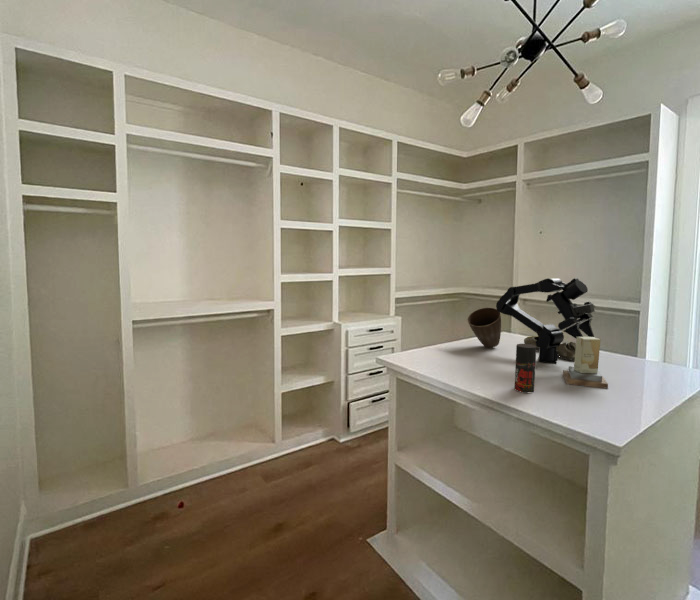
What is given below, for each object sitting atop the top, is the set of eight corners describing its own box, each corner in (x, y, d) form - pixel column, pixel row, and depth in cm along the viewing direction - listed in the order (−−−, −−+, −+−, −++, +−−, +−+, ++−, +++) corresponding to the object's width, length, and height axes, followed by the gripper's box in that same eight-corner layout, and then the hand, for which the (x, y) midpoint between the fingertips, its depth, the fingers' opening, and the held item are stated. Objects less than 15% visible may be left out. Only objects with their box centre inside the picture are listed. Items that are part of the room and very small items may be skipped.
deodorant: (510, 388, 132) (512, 344, 131) (523, 386, 135) (525, 342, 133) (524, 394, 127) (526, 348, 125) (538, 391, 129) (540, 346, 128)
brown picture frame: (567, 383, 137) (567, 374, 136) (563, 374, 148) (563, 365, 147) (607, 388, 132) (608, 378, 132) (600, 377, 143) (601, 368, 143)
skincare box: (580, 373, 137) (583, 339, 135) (573, 370, 141) (575, 336, 140) (598, 373, 137) (601, 338, 136) (590, 369, 141) (593, 336, 140)
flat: (538, 343, 198) (539, 329, 198) (588, 361, 167) (589, 343, 166) (518, 344, 196) (519, 329, 196) (565, 362, 165) (566, 344, 164)
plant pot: (509, 332, 192) (502, 305, 185) (506, 352, 181) (498, 324, 175) (478, 334, 200) (470, 309, 194) (473, 354, 189) (464, 327, 183)
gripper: (573, 297, 147) (599, 334, 141) (592, 292, 158) (617, 326, 153) (547, 312, 154) (571, 347, 149) (567, 306, 166) (590, 339, 161)
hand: (588, 340), depth 153 cm, fingers open, 9 cm apart
